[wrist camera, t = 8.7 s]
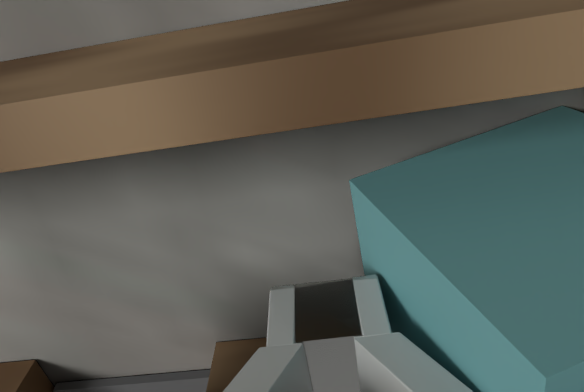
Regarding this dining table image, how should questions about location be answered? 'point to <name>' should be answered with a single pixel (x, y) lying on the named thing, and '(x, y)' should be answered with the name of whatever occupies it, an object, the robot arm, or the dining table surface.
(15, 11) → the dining table surface
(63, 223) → the dining table surface
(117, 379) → the pads
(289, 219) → the dining table surface
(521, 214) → the block
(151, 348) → the dining table surface
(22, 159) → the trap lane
